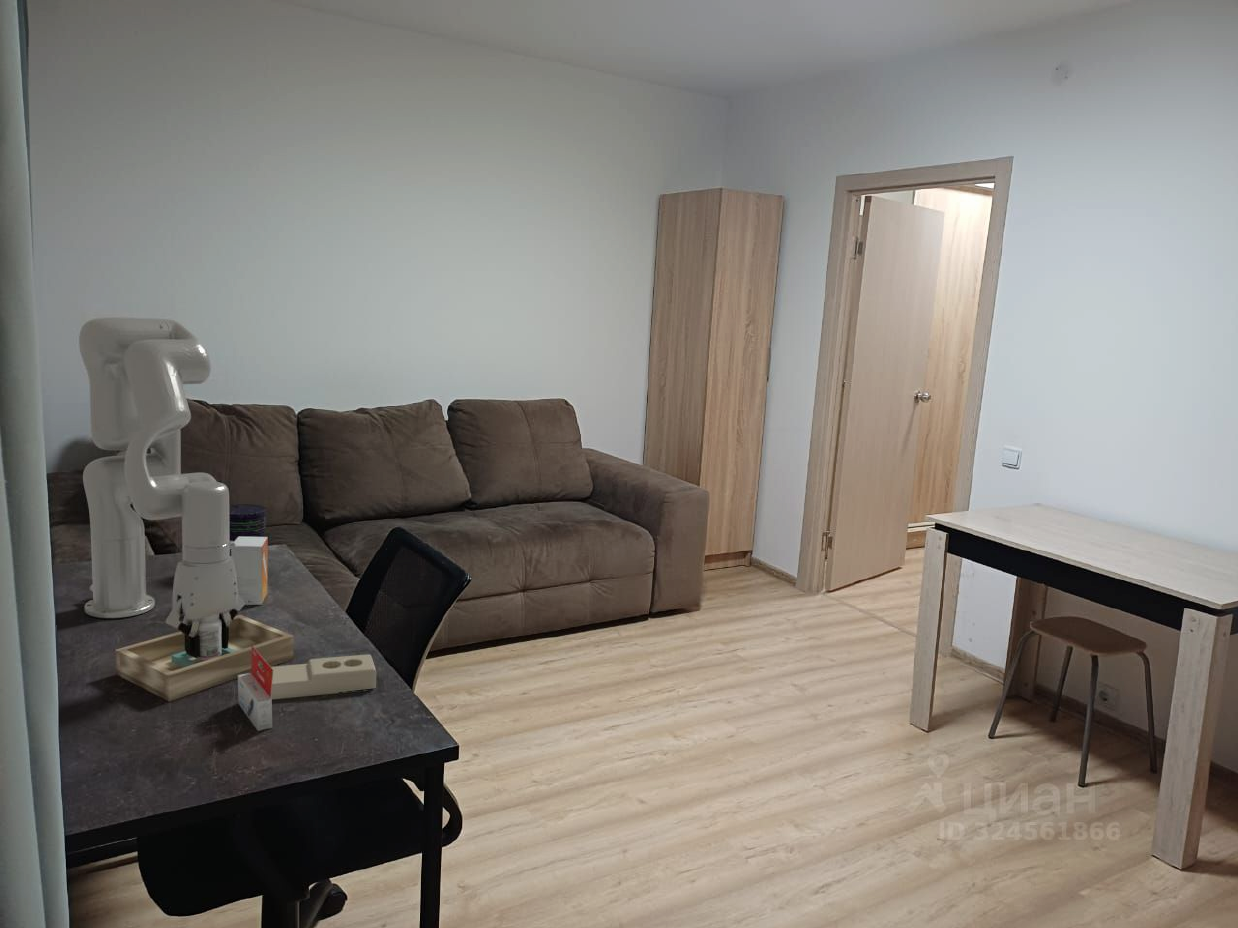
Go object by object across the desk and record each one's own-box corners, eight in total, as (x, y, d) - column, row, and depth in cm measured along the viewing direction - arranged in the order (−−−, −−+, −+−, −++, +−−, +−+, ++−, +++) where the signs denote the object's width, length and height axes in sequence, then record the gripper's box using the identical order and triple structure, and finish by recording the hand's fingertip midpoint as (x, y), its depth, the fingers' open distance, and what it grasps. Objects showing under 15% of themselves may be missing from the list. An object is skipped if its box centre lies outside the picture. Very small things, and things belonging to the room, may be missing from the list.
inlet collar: (171, 661, 162) (171, 655, 162) (215, 648, 169) (215, 641, 169) (199, 674, 158) (199, 668, 158) (243, 660, 165) (243, 654, 165)
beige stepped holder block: (264, 662, 158) (371, 653, 165) (264, 684, 159) (370, 674, 166) (265, 678, 152) (376, 668, 159) (265, 701, 153) (376, 691, 159)
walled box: (116, 674, 158) (115, 649, 157) (240, 636, 178) (240, 614, 177) (169, 701, 150) (168, 675, 149) (293, 658, 169) (293, 635, 169)
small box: (262, 605, 195) (262, 546, 193) (230, 605, 194) (230, 546, 192) (268, 593, 203) (268, 536, 201) (237, 593, 202) (237, 535, 199)
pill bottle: (198, 649, 166) (197, 605, 164) (225, 650, 166) (225, 606, 164) (188, 660, 161) (187, 614, 159) (216, 661, 161) (216, 615, 160)
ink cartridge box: (257, 731, 142) (257, 672, 140) (237, 704, 151) (236, 647, 149) (273, 728, 144) (273, 669, 142) (252, 700, 152) (252, 645, 150)
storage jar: (274, 571, 218) (274, 510, 215) (235, 579, 210) (235, 516, 208) (251, 561, 224) (251, 502, 221) (213, 569, 216) (212, 507, 214)
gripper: (236, 539, 169) (237, 632, 172) (146, 557, 155) (148, 659, 158) (262, 547, 165) (262, 643, 168) (172, 567, 151) (173, 671, 154)
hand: (207, 649), depth 163 cm, fingers closed on pill bottle, 4 cm apart
